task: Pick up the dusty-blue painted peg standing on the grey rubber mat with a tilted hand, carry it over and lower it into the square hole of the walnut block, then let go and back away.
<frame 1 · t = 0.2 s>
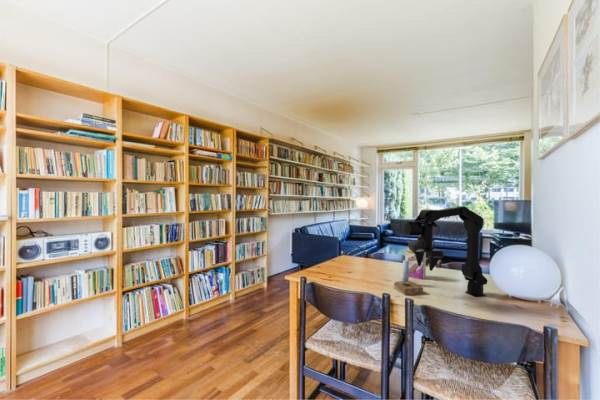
hand: (424, 268, 135), 14 cm above the table, tool pointing down, fingers open, 9 cm apart
mat: (407, 284, 155), on the table
hole block: (408, 291, 143), on the table
peg: (405, 284, 154), resting on mat
candy bar box: (414, 277, 168), on the table
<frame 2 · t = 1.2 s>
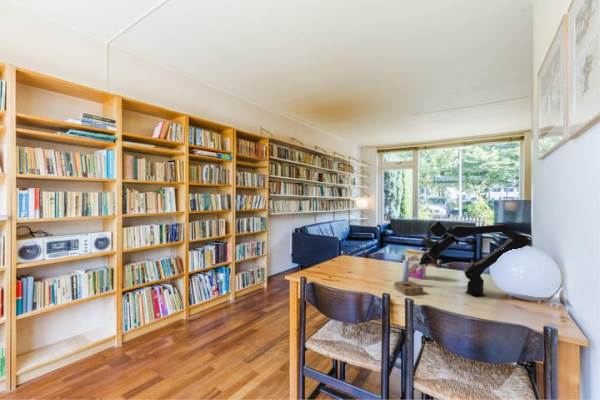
hand: (420, 262, 150), 13 cm above the table, tool tilted 45°, fingers open, 9 cm apart
nothing on the table moved.
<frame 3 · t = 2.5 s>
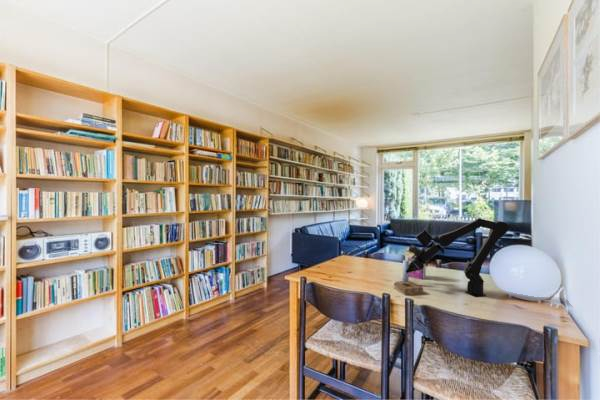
hand: (406, 270, 153), 8 cm above the table, tool tilted 45°, fingers open, 9 cm apart
nothing on the table moved.
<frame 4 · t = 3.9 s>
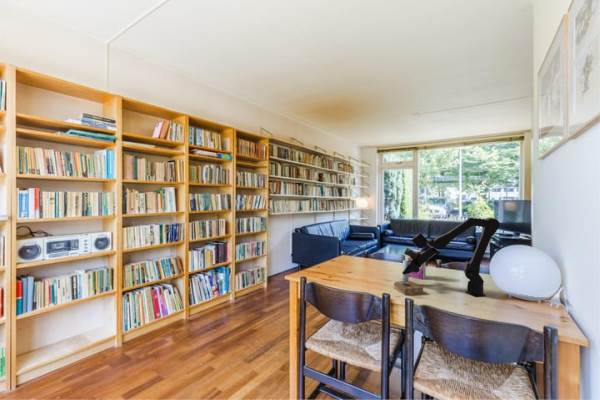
hand: (403, 273, 154), 7 cm above the table, tool tilted 45°, fingers closed on peg, 3 cm apart
peg: (405, 284, 154), resting on mat, touching gripper
everything else where it was.
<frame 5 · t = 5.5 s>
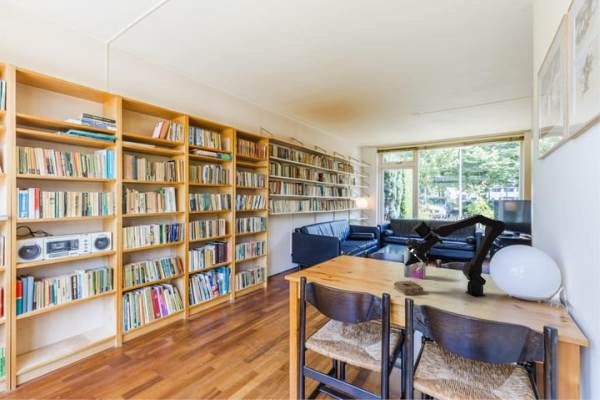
hand: (404, 264, 145), 14 cm above the table, tool tilted 45°, fingers closed on peg, 3 cm apart
peg: (407, 276, 144), point 7 cm above the table, touching gripper
everything else where it was.
when the fingers open (8 cm above the table, at t = 6.9 s): peg drops 2 cm, resting in hole block.
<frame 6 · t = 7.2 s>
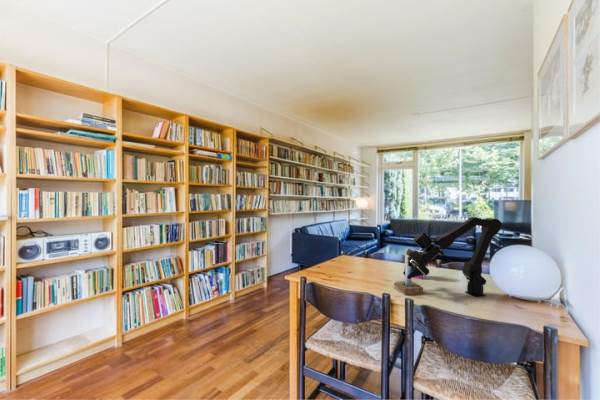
hand: (405, 276, 143), 8 cm above the table, tool tilted 45°, fingers open, 7 cm apart
peg: (408, 291, 143), resting in hole block
everything else where it was.
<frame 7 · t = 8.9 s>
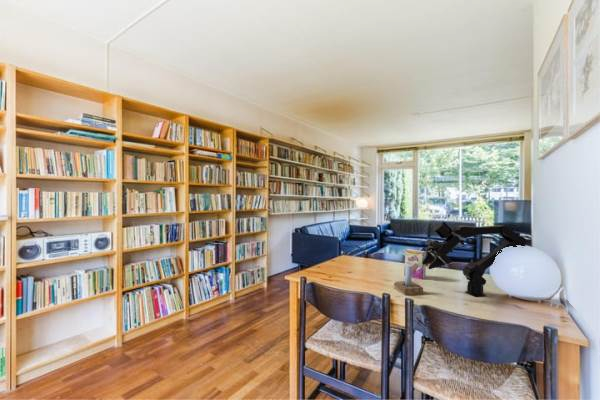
hand: (425, 266, 142), 13 cm above the table, tool tilted 45°, fingers open, 9 cm apart
nothing on the table moved.
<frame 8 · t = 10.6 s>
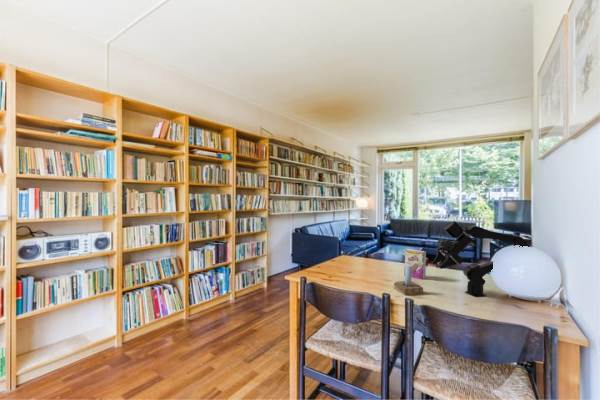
hand: (436, 265, 142), 14 cm above the table, tool tilted 45°, fingers open, 9 cm apart
nothing on the table moved.
at the end: peg 0.0 cm off-centre on the hole block, point 0.0 cm above the hole block's base; peg tilted 0°; the gripper is holding nothing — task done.
